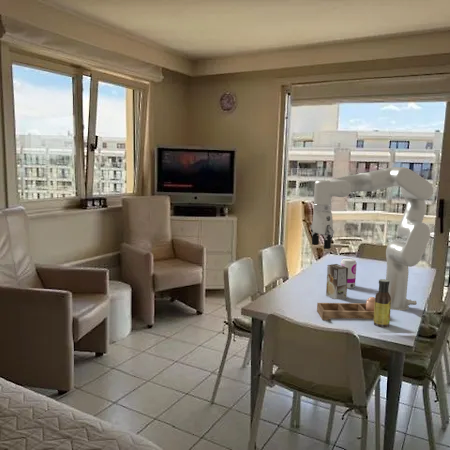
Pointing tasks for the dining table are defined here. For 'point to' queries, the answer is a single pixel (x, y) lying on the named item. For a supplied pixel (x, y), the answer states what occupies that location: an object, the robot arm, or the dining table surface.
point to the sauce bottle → (382, 305)
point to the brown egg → (370, 304)
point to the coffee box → (336, 281)
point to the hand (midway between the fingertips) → (321, 246)
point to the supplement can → (350, 271)
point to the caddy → (344, 311)
